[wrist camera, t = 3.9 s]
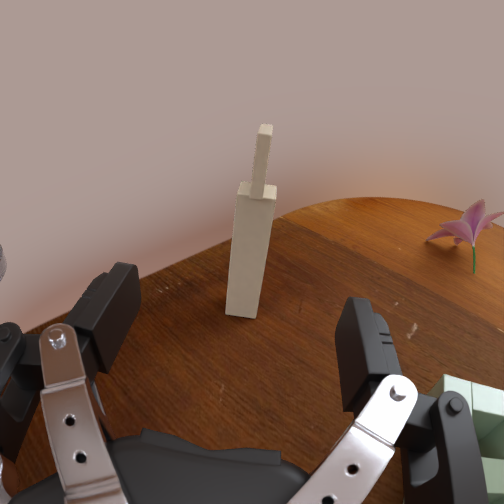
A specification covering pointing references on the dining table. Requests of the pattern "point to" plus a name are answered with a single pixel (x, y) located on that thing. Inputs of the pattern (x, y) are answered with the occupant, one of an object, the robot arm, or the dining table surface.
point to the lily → (467, 226)
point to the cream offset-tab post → (251, 233)
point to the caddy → (483, 427)
